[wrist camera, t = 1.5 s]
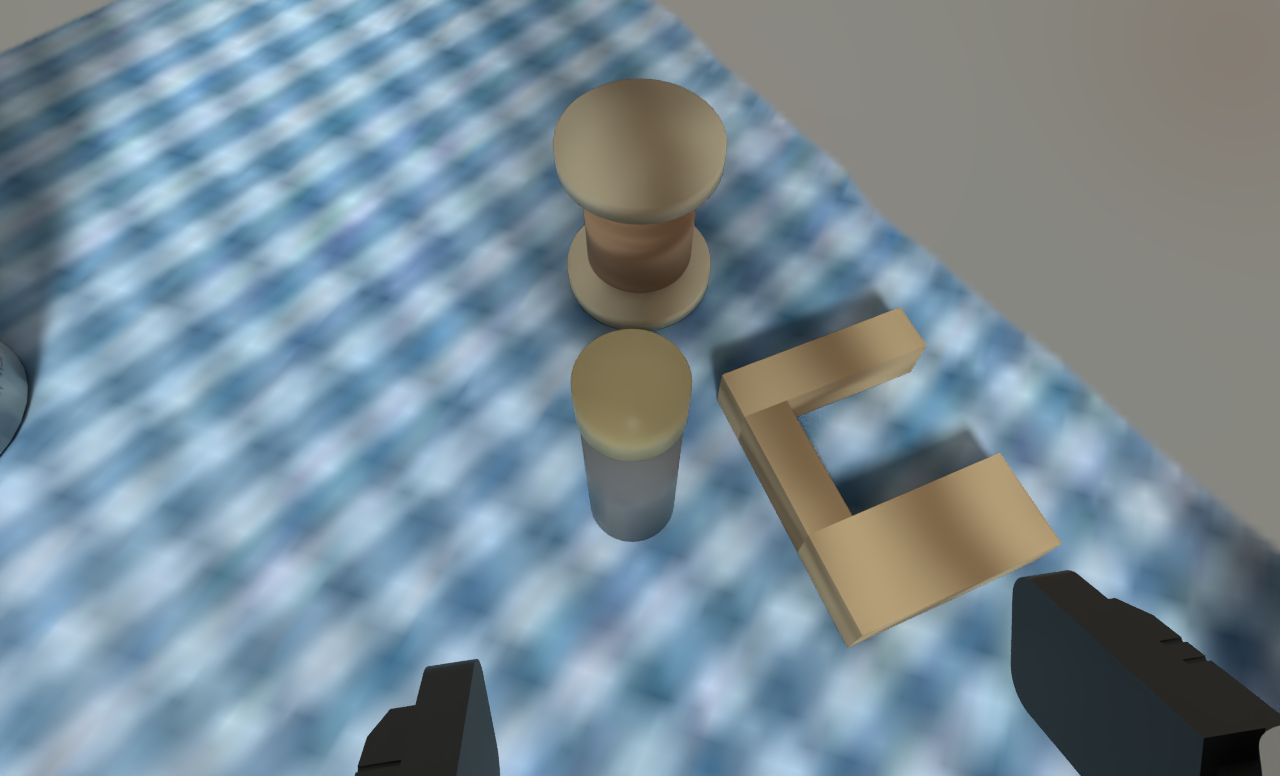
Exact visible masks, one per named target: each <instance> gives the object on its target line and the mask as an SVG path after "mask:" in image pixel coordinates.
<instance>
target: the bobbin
mask: <svg viewBox="0 0 1280 776" xmlns="http://www.w3.org/2000/svg"><path fill="white" fill-rule="evenodd" d="M553 148H554V157H555V165H556V170H557V175H558V178H559V180H560V183H561V184H562V186H563V188H564V189H565V191H566V192H567V193H568V195H569V196H570V197H571V198H572V199H573V200H574V201H575V202H576V203H577V204H578V205H580V206H581V207H583V208H584V219H585V225H584V226H583V227H582V228H581V229H580V230H579V231H578V233H577V234H576V236H575V237H574V239H573V241H572V244H571V246H570V249H569V253H568V273H569V280H570V285H571V289H572V292H573V294H574V296H575V298H576V300H577V302H578V303H579V304H580V305H581V307H582V308H583V309H584V310H585V311H586V312H587V313H588V314H589V315H591V316H592V317H593V318H595V319H596V320H598V321H600V322H601V323H603V324H606V325H608V326H610V327H613V328H617V329H620V330H622V329H640V330H646V331H653V330H658V329H662V328H665V327H668V326H671V325H673V324H675V323H677V322H679V321H681V320H682V319H684V318H685V317H686V316H688V315H689V314H690V313H691V312H692V311H693V310H694V309H695V308H696V307H697V306H698V304H699V303H700V302H701V300H702V298H703V296H704V295H705V292H706V289H707V286H708V281H709V274H710V261H711V259H710V252H709V249H708V246H707V243H706V241H705V239H704V237H703V236H702V234H701V233H700V231H699V230H698V229H697V228H696V227H695V226H694V220H695V210H696V208H698V207H699V206H701V205H702V204H703V203H704V202H705V201H706V200H707V199H708V198H709V197H710V196H711V195H712V194H713V192H714V191H715V190H716V188H717V186H718V185H719V183H720V180H721V178H722V175H723V170H724V164H725V157H726V150H727V138H726V133H725V129H724V126H723V123H722V122H721V120H720V118H719V116H718V115H717V113H716V112H715V111H714V109H713V108H712V107H711V106H710V105H709V104H708V103H707V102H706V101H705V100H703V99H702V98H701V97H699V96H698V95H696V94H695V93H693V92H691V91H690V90H687V89H685V88H683V87H681V86H678V85H675V84H672V83H669V82H664V81H660V80H653V79H626V80H619V81H615V82H611V83H607V84H604V85H601V86H598V87H596V88H594V89H592V90H590V91H588V92H586V93H585V94H583V95H581V96H580V97H579V98H577V99H576V100H575V101H574V102H572V103H571V104H570V106H569V107H568V108H567V109H566V110H565V111H564V113H563V114H562V115H561V117H560V119H559V121H558V123H557V126H556V129H555V132H554V139H553Z"/></svg>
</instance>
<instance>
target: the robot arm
mask: <svg viewBox="0 0 1280 776" xmlns="http://www.w3.org/2000/svg"><path fill="white" fill-rule="evenodd" d="M27 390H28V383H27V378H26V374H25V370H24V367H23V365H22V364H21V362H20V360H19V359H18V357H17V355H16V354H15V353H14V352H13V351H12V350H10V349H9V348H8V347H7V346H6V345H5V344H4V343H2V342H1V341H0V454H1V453H2V452H3V450H4V449H5V448H6V446H7V445H8V444H9V443H10V441H11V440H12V438H13V436H14V434H15V432H16V430H17V428H18V426H19V425H20V423H21V421H22V417H23V414H24V410H25V407H26V403H27ZM1011 673H1012V679H1013V683H1014V686H1015V689H1016V692H1017V695H1018V697H1019V699H1020V701H1021V703H1022V705H1023V706H1024V708H1025V709H1026V711H1027V712H1028V713H1029V714H1030V716H1031V717H1032V718H1033V719H1034V720H1035V722H1036V723H1037V724H1038V725H1039V726H1040V728H1041V729H1042V730H1043V731H1044V732H1045V734H1046V735H1047V736H1048V737H1049V738H1050V740H1051V741H1052V742H1053V743H1054V744H1055V746H1056V747H1057V748H1058V749H1059V750H1060V752H1061V753H1062V754H1063V755H1064V756H1065V758H1066V759H1067V760H1068V761H1069V762H1070V764H1071V765H1072V766H1073V767H1074V768H1075V769H1076V771H1077V772H1078V773H1079V774H1080V775H1081V776H1280V714H1279V713H1278V712H1276V711H1275V710H1274V709H1272V708H1271V707H1270V706H1269V705H1267V704H1266V703H1265V702H1264V701H1262V700H1261V699H1260V698H1258V697H1257V696H1256V695H1255V694H1253V693H1252V692H1251V691H1249V690H1248V689H1247V688H1246V687H1244V686H1243V685H1242V684H1240V683H1239V682H1238V681H1237V680H1235V679H1234V678H1233V677H1232V676H1230V675H1229V674H1228V673H1226V672H1225V671H1224V670H1223V669H1221V668H1220V667H1219V666H1217V665H1216V664H1215V663H1214V662H1212V661H1207V660H1206V658H1205V655H1203V654H1202V653H1201V652H1200V651H1198V650H1197V649H1196V648H1194V647H1193V646H1192V645H1191V644H1189V643H1188V642H1183V641H1182V638H1181V637H1180V636H1179V635H1178V634H1177V633H1175V632H1174V631H1173V630H1171V629H1170V628H1169V627H1168V626H1166V625H1165V624H1164V623H1162V622H1161V621H1160V620H1159V619H1157V618H1156V617H1155V616H1154V615H1152V614H1149V613H1147V612H1145V611H1143V610H1141V609H1138V608H1136V607H1134V606H1132V605H1129V604H1127V603H1125V602H1123V601H1121V600H1118V599H1116V598H1112V599H1108V598H1106V597H1105V596H1104V595H1103V594H1101V593H1100V592H1099V591H1098V590H1096V589H1095V588H1094V587H1093V586H1092V585H1090V584H1089V583H1088V582H1087V581H1085V580H1084V579H1083V578H1082V577H1081V576H1079V575H1078V574H1077V573H1075V572H1073V571H1069V570H1066V571H1060V572H1053V573H1047V574H1040V575H1033V576H1027V577H1021V578H1019V579H1017V581H1016V582H1015V584H1014V587H1013V598H1012V637H1011ZM355 776H500V767H499V757H498V749H497V743H496V738H495V733H494V728H493V723H492V717H491V712H490V707H489V702H488V697H487V692H486V686H485V681H484V676H483V671H482V667H481V664H480V662H479V660H478V659H473V660H467V661H460V662H454V663H447V664H441V665H434V666H427V667H426V668H425V670H424V673H423V677H422V681H421V685H420V689H419V693H418V697H417V701H416V705H413V706H407V707H400V708H394V709H390V710H389V711H388V713H387V714H386V715H385V716H384V717H383V719H382V720H381V721H380V722H379V723H378V725H377V726H376V727H375V728H374V729H373V731H372V732H371V733H370V734H369V735H368V737H367V739H366V742H365V745H364V748H363V751H362V755H361V758H360V761H359V764H358V772H357V773H355Z"/></svg>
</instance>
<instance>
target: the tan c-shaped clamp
mask: <svg viewBox="0 0 1280 776" xmlns="http://www.w3.org/2000/svg"><path fill="white" fill-rule="evenodd" d="M926 346H927V345H926V344H925V342H924V341H923V340H922V338H921V337H920V335H919V334H918V332H917V331H916V329H915V328H914V326H913V325H912V323H911V322H910V321H909V319H908V318H907V316H906V315H905V313H904V312H903V310H902V309H901V307H900V308H897V309H894V310H892V311H889V312H886V313H884V314H881V315H878V316H876V317H873V318H871V319H868V320H865V321H863V322H860V323H857V324H855V325H852V326H849V327H847V328H844V329H842V330H839V331H836V332H834V333H831V334H828V335H826V336H823V337H820V338H818V339H815V340H813V341H810V342H807V343H805V344H802V345H799V346H797V347H794V348H791V349H789V350H786V351H783V352H781V353H778V354H776V355H773V356H770V357H768V358H765V359H762V360H760V361H757V362H754V363H752V364H749V365H747V366H744V367H741V368H739V369H736V370H733V371H731V372H728V373H725V374H723V375H722V378H721V383H720V388H719V393H718V398H717V401H718V402H719V404H720V406H721V408H722V410H723V412H724V414H725V416H726V418H727V420H728V421H729V423H730V425H731V427H732V429H733V431H734V433H735V435H736V437H737V439H738V440H739V442H740V444H741V446H742V448H743V450H744V452H745V454H746V456H747V458H748V459H749V461H750V463H751V465H752V467H753V469H754V471H755V473H756V475H757V477H758V478H759V480H760V482H761V484H762V486H763V488H764V490H765V492H766V494H767V496H768V497H769V499H770V501H771V503H772V505H773V507H774V509H775V511H776V513H777V515H778V516H779V518H780V520H781V522H782V524H783V526H784V528H785V530H786V532H787V534H788V535H789V537H790V539H791V541H792V543H793V545H794V547H795V549H796V551H797V553H798V554H799V556H800V558H801V560H802V562H803V564H804V566H805V568H806V570H807V572H808V573H809V575H810V577H811V579H812V581H813V583H814V585H815V587H816V589H817V590H818V592H819V594H820V596H821V598H822V600H823V602H824V604H825V606H826V608H827V609H828V611H829V613H830V615H831V617H832V619H833V621H834V623H835V625H836V627H837V628H838V630H839V632H840V634H841V636H842V638H843V640H844V642H845V644H846V646H847V647H850V646H852V645H854V644H857V643H859V642H861V641H863V640H865V639H867V638H870V637H872V636H874V635H876V634H878V633H880V632H883V631H885V630H887V629H889V628H891V627H893V626H896V625H898V624H900V623H902V622H904V621H906V620H908V619H911V618H913V617H915V616H917V615H919V614H921V613H924V612H926V611H928V610H930V609H932V608H934V607H937V606H939V605H941V604H943V603H945V602H947V601H950V600H952V599H954V598H956V597H958V596H960V595H963V594H965V593H967V592H969V591H971V590H973V589H975V588H978V587H980V586H982V585H984V584H986V583H988V582H991V581H993V580H995V579H997V578H999V577H1001V576H1004V575H1006V574H1008V573H1010V572H1012V571H1014V570H1017V569H1019V568H1021V567H1023V566H1025V565H1027V564H1029V563H1032V562H1034V561H1036V560H1037V559H1039V558H1040V557H1042V556H1044V555H1045V554H1047V553H1048V552H1050V551H1051V550H1053V549H1054V548H1056V547H1057V546H1059V545H1061V544H1062V543H1061V542H1060V540H1059V539H1058V537H1057V536H1056V534H1055V533H1054V531H1053V530H1052V528H1051V527H1050V526H1049V524H1048V523H1047V521H1046V520H1045V518H1044V517H1043V515H1042V514H1041V512H1040V511H1039V509H1038V508H1037V506H1036V505H1035V504H1034V502H1033V501H1032V499H1031V498H1030V496H1029V495H1028V493H1027V492H1026V490H1025V489H1024V487H1023V486H1022V485H1021V483H1020V482H1019V480H1018V479H1017V477H1016V476H1015V474H1014V473H1013V471H1012V470H1011V468H1010V467H1009V465H1008V464H1007V463H1006V461H1005V460H1004V458H1003V457H1002V455H1001V454H1000V453H998V454H996V455H993V456H991V457H989V458H986V459H984V460H982V461H979V462H977V463H975V464H972V465H970V466H968V467H965V468H963V469H961V470H958V471H956V472H954V473H951V474H949V475H947V476H944V477H942V478H940V479H937V480H935V481H933V482H930V483H928V484H926V485H923V486H921V487H919V488H916V489H914V490H912V491H909V492H907V493H905V494H902V495H900V496H898V497H895V498H893V499H891V500H888V501H886V502H884V503H882V504H879V505H877V506H875V507H872V508H870V509H868V510H865V511H863V512H861V513H858V514H856V515H854V516H852V514H851V512H850V511H849V509H848V507H847V505H846V504H845V502H844V500H843V498H842V497H841V495H840V493H839V491H838V490H837V488H836V486H835V484H834V483H833V481H832V479H831V477H830V476H829V474H828V472H827V470H826V469H825V467H824V465H823V463H822V462H821V460H820V458H819V456H818V455H817V453H816V451H815V449H814V448H813V446H812V444H811V442H810V441H809V439H808V437H807V435H806V434H805V432H804V430H803V428H802V426H801V425H800V423H799V421H798V419H797V418H796V417H798V416H800V415H803V414H805V413H808V412H810V411H813V410H815V409H818V408H820V407H823V406H825V405H828V404H831V403H833V402H836V401H838V400H841V399H843V398H846V397H848V396H851V395H853V394H856V393H858V392H861V391H863V390H866V389H868V388H871V387H873V386H876V385H878V384H881V383H883V382H886V381H888V380H891V379H893V378H896V377H899V376H901V375H904V374H906V373H909V372H911V370H912V368H913V367H914V365H915V364H916V362H917V360H918V359H919V357H920V355H921V354H922V352H923V351H924V349H925V347H926Z"/></svg>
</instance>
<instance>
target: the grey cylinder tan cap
mask: <svg viewBox="0 0 1280 776" xmlns="http://www.w3.org/2000/svg"><path fill="white" fill-rule="evenodd" d="M691 389H692V376H691V371H690V367H689V365H688V362H687V360H686V358H685V357H684V355H683V354H682V352H681V351H680V350H679V349H678V348H677V347H676V346H675V345H674V344H673V343H672V342H670V341H669V340H668V339H666V338H664V337H663V336H661V335H658V334H656V333H653V332H650V331H646V330H640V329H622V330H617V331H613V332H610V333H607V334H605V335H602V336H600V337H599V338H597V339H595V340H594V341H592V342H591V343H590V344H589V345H588V346H587V347H585V348H584V350H583V351H582V352H581V353H580V355H579V356H578V358H577V360H576V362H575V364H574V366H573V370H572V374H571V391H572V398H573V405H574V412H575V418H576V423H577V426H578V429H579V431H580V433H581V440H582V447H583V454H584V462H585V469H586V476H587V483H588V490H589V497H590V504H591V510H592V514H593V517H594V519H595V521H596V522H597V524H598V525H599V527H600V528H601V529H602V530H603V531H604V532H606V533H607V534H608V535H610V536H611V537H614V538H616V539H619V540H622V541H628V542H636V541H642V540H646V539H649V538H651V537H653V536H654V535H656V534H657V533H659V532H660V531H661V530H662V529H663V528H664V527H665V526H666V524H667V523H668V521H669V520H670V518H671V515H672V512H673V507H674V500H675V492H676V484H677V476H678V468H679V460H680V452H681V444H682V435H683V431H684V429H685V426H686V423H687V418H688V412H689V404H690V397H691Z"/></svg>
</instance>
